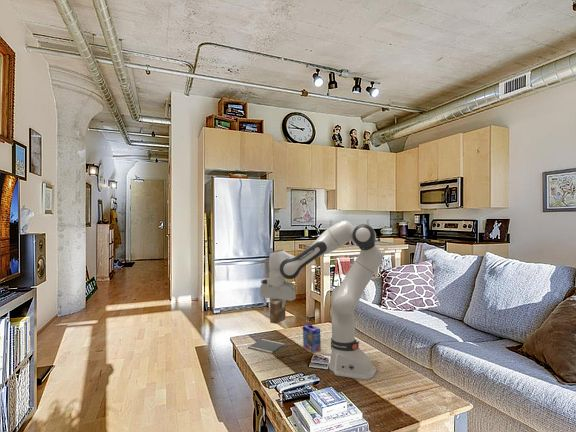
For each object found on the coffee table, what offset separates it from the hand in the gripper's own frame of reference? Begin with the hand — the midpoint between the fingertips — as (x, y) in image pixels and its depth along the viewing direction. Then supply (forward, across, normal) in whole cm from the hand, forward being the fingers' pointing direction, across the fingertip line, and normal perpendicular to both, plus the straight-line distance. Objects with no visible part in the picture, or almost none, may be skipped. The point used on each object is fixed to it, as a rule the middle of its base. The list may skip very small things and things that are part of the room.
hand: (277, 307), depth 174 cm
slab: (+7, 0, 0) cm, 7 cm away
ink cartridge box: (+27, -10, -20) cm, 35 cm away
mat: (+27, +14, -10) cm, 32 cm away
